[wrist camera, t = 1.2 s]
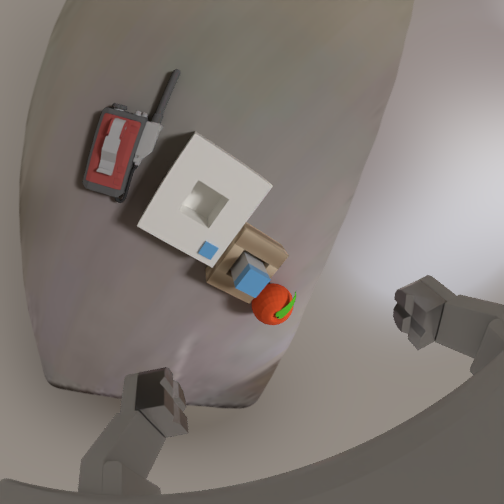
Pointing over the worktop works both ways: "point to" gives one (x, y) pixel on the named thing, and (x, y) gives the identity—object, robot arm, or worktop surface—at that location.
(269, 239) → the holster
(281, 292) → the clementine
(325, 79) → the worktop surface
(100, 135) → the walkie-talkie
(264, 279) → the plug
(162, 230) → the port
